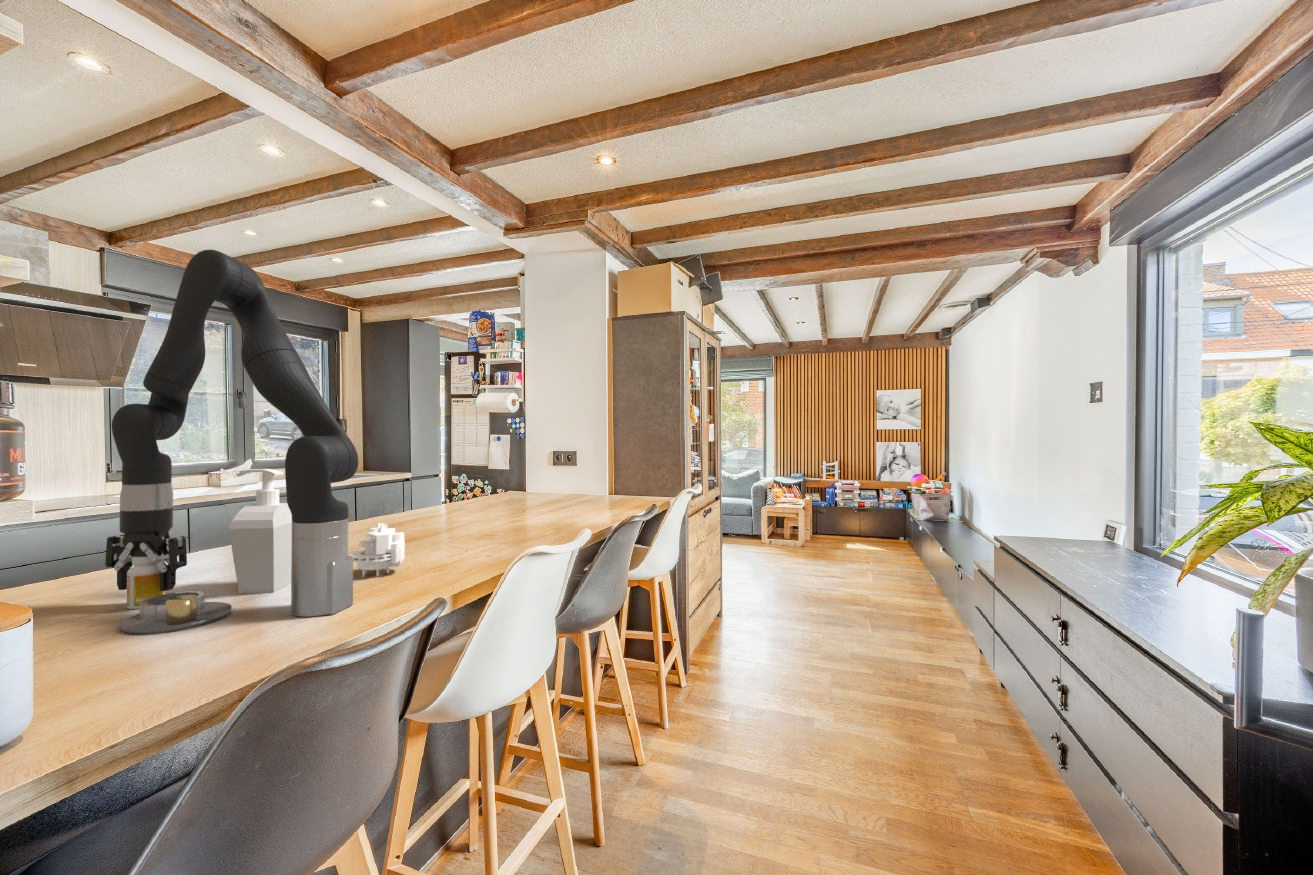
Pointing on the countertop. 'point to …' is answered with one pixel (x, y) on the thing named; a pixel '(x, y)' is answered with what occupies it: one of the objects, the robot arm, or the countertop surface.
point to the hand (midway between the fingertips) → (146, 589)
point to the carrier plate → (162, 628)
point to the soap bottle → (262, 540)
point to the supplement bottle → (142, 582)
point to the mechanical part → (380, 550)
